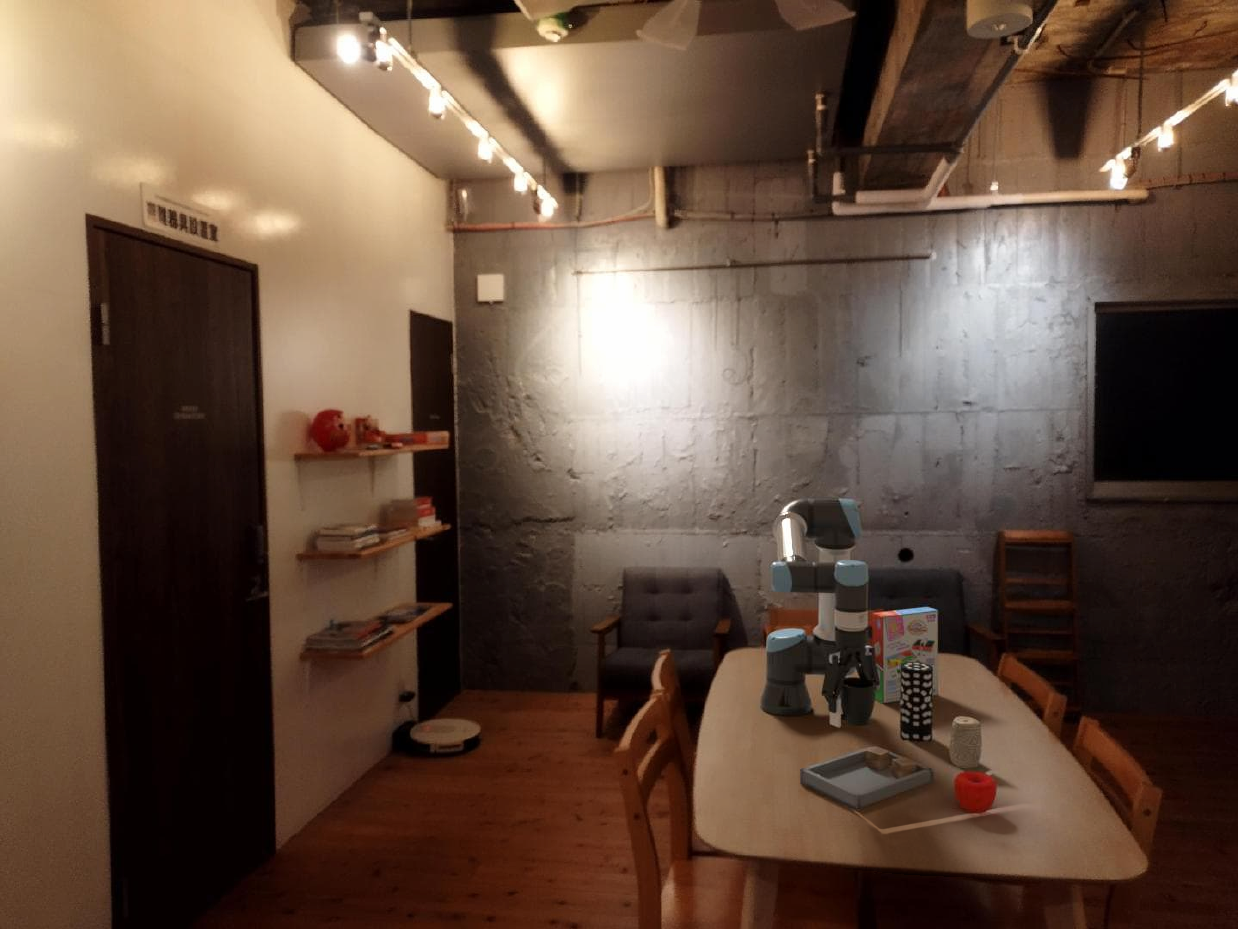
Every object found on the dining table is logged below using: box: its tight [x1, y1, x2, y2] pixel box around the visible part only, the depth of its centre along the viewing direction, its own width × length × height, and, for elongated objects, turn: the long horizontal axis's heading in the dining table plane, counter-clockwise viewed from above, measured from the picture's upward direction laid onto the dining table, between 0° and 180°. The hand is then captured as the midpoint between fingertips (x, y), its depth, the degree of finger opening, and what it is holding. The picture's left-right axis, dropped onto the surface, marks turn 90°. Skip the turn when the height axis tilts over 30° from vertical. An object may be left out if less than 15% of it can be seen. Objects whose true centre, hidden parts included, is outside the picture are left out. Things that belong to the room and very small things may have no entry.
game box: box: [872, 606, 939, 704], centre depth 267 cm, size 21×6×27 cm, turn 108°
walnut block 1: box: [866, 745, 890, 771], centre depth 215 cm, size 4×4×4 cm
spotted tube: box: [899, 662, 934, 743], centre depth 234 cm, size 8×8×20 cm
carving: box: [949, 715, 983, 769], centre depth 216 cm, size 6×8×12 cm
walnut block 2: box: [892, 756, 917, 779], centre depth 208 cm, size 4×4×4 cm
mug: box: [823, 676, 876, 727], centre depth 203 cm, size 8×12×10 cm
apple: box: [953, 771, 997, 814], centre depth 192 cm, size 9×9×8 cm
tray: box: [799, 745, 934, 813], centre depth 207 cm, size 18×26×4 cm
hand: (850, 720), depth 203 cm, fingers closed on mug, 10 cm apart
